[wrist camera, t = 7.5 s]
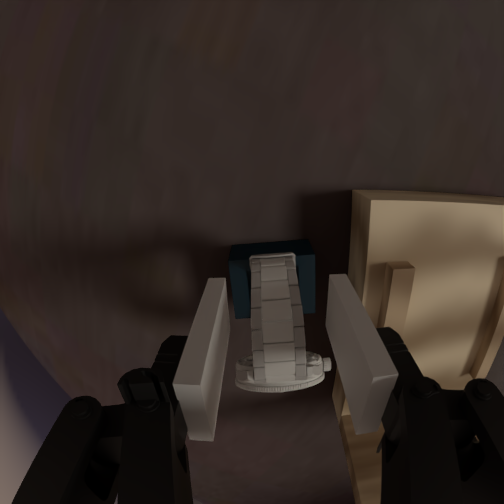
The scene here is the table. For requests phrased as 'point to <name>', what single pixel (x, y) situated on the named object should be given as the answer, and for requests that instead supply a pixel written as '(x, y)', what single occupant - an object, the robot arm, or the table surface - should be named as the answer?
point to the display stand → (424, 295)
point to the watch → (276, 314)
